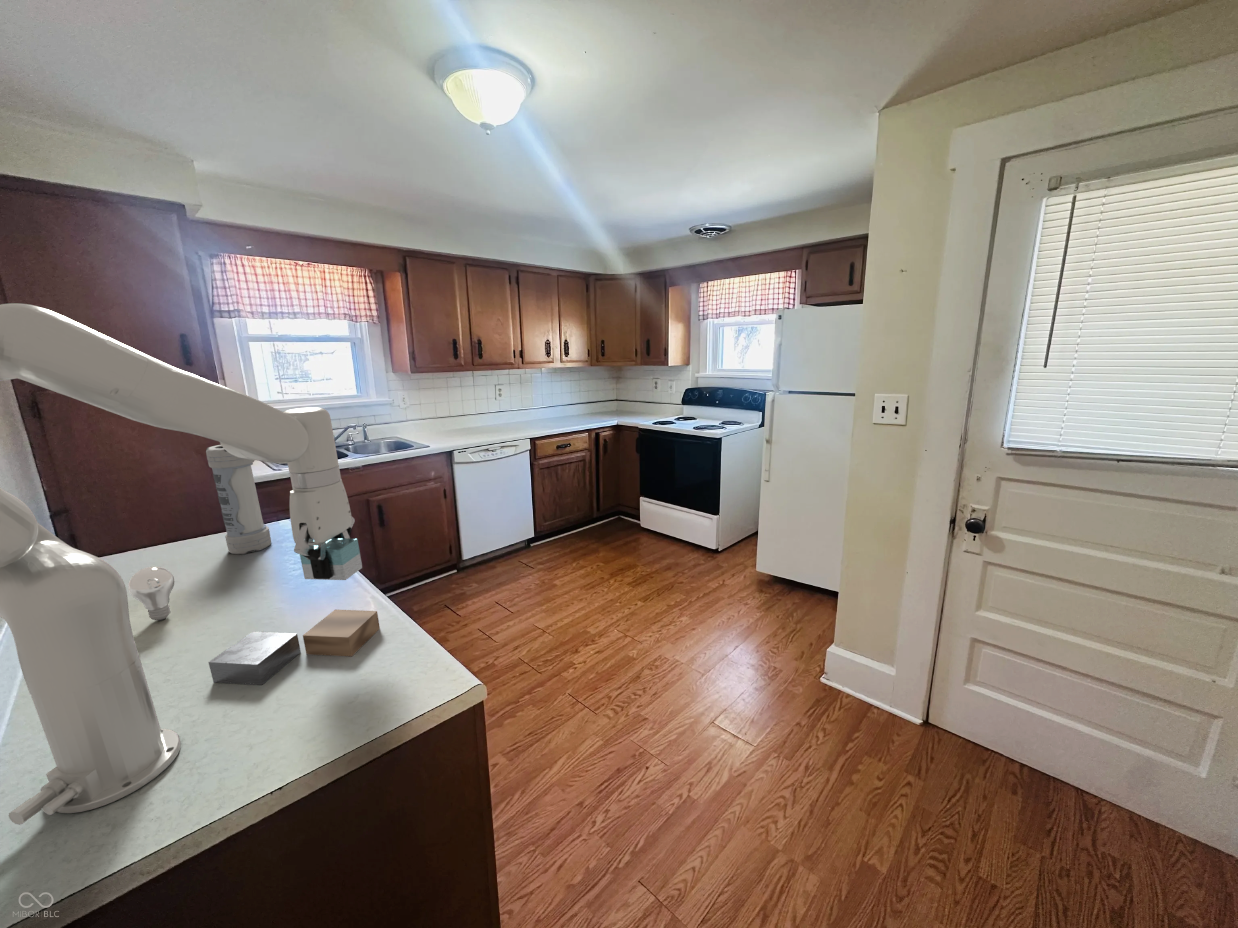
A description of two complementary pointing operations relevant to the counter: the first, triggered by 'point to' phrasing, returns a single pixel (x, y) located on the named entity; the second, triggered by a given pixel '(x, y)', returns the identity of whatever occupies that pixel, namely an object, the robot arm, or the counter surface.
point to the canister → (238, 501)
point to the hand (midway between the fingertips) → (333, 569)
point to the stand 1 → (255, 658)
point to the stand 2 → (341, 633)
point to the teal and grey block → (337, 559)
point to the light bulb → (153, 590)
